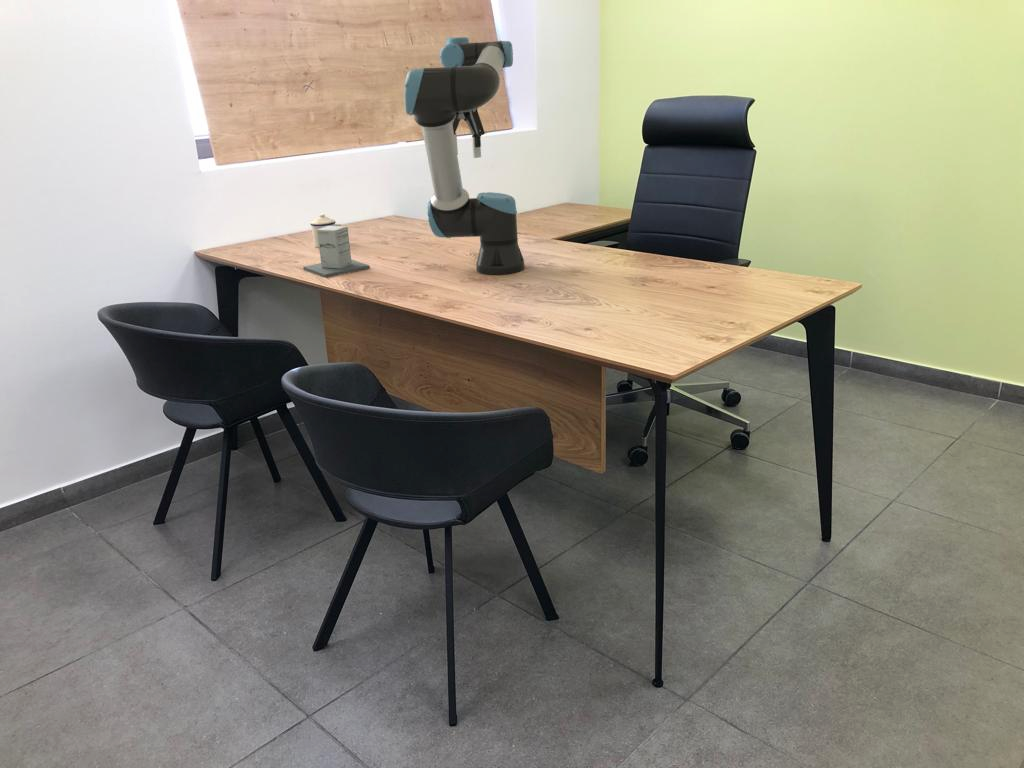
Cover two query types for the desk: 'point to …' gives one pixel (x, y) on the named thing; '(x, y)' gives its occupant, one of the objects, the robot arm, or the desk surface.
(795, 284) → the desk surface
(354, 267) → the slate mat
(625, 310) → the desk surface
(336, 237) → the supplement box
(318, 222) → the teacup with lid
